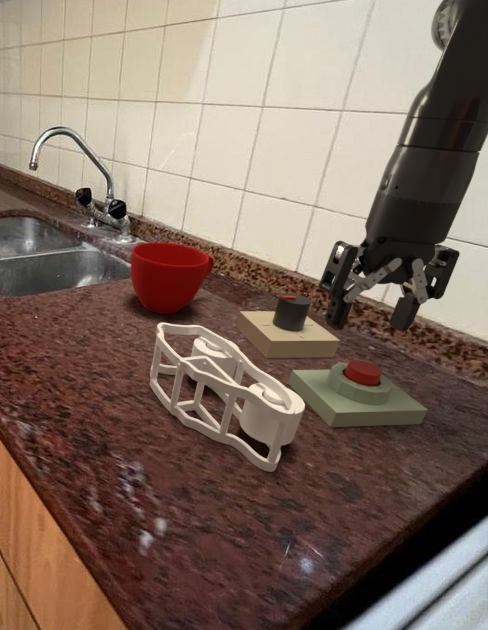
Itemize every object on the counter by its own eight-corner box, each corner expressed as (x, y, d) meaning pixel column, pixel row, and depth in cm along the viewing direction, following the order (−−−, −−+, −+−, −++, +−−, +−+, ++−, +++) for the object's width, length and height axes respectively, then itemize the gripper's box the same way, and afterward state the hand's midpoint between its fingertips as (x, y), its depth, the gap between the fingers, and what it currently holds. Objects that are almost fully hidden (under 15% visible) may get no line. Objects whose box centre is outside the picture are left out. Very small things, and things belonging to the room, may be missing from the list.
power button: (363, 371, 58) (367, 359, 57) (384, 387, 55) (389, 375, 54) (337, 371, 57) (342, 359, 56) (357, 388, 54) (362, 375, 53)
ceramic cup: (229, 312, 81) (242, 259, 76) (154, 327, 73) (163, 269, 69) (182, 286, 91) (191, 238, 87) (111, 297, 84) (117, 245, 79)
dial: (293, 318, 73) (301, 291, 71) (308, 331, 69) (318, 302, 67) (267, 318, 72) (275, 290, 70) (281, 331, 68) (290, 302, 66)
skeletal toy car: (312, 463, 47) (335, 406, 44) (221, 482, 44) (238, 422, 41) (207, 363, 64) (218, 317, 61) (136, 371, 61) (144, 323, 58)
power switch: (367, 382, 62) (377, 357, 61) (420, 424, 54) (434, 397, 53) (287, 383, 61) (296, 358, 59) (330, 427, 53) (341, 399, 51)
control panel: (295, 327, 77) (301, 310, 76) (333, 357, 68) (340, 339, 67) (235, 327, 75) (239, 310, 74) (266, 358, 66) (271, 339, 65)
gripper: (384, 197, 44) (331, 342, 51) (511, 203, 45) (443, 343, 52) (335, 183, 50) (294, 313, 57) (447, 189, 52) (395, 315, 59)
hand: (365, 327), depth 55 cm, fingers open, 8 cm apart
